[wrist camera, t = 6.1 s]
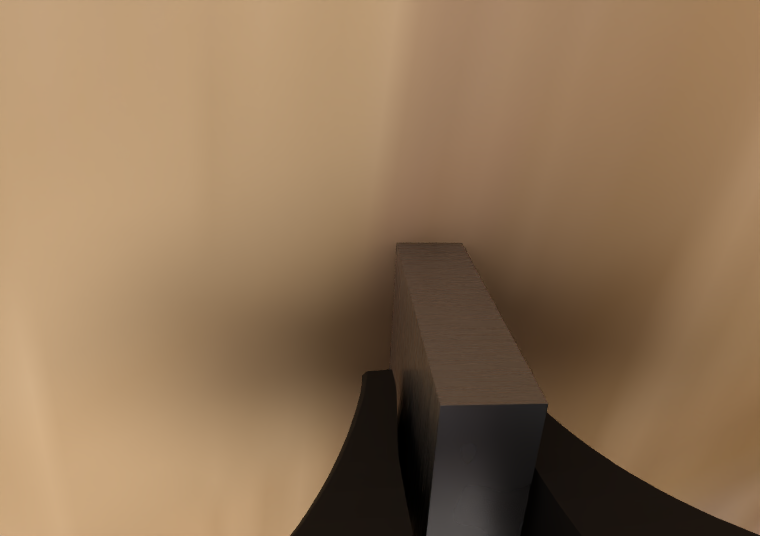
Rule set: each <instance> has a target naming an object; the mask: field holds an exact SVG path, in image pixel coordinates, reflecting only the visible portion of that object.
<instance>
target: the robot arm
mask: <svg viewBox="0 0 760 536" xmlns="http://www.w3.org/2000/svg"><path fill="white" fill-rule="evenodd" d="M290 536H413V532H412V527H411V522H410V518H409V512H408V507H407V502H406V496H405V491H404V486H403V480H402V474H401V469H400V463H399V439H398V415H397V392H396V383H395V379H394V375H393V371H392V369H391V370H379V371H367V372H366V373H365V374H364V375H363V376H362V387H361V393H360V397H359V401H358V405H357V409H356V412H355V415H354V418H353V421H352V424H351V427H350V430H349V432H348V435H347V437H346V439H345V442H344V444H343V446H342V449H341V451H340V453H339V456H338V458H337V460H336V462H335V464H334V466H333V468H332V470H331V472H330V474H329V476H328V478H327V480H326V481H325V483H324V485H323V487H322V489H321V490H320V492H319V494H318V495H317V497H316V499H315V500H314V502H313V503H312V505H311V507H310V508H309V510H308V511H307V513H306V514H305V516H304V517H303V519H302V520H301V522H300V523H299V525H298V526H297V527H296V529H295V530H294V531H293V533H292V534H291V535H290ZM520 536H760V535H758V534H755V533H753V532H750V531H748V530H745V529H743V528H740V527H738V526H736V525H733V524H731V523H728V522H726V521H723V520H721V519H718V518H716V517H714V516H711V515H709V514H707V513H705V512H703V511H701V510H699V509H697V508H695V507H692V506H690V505H688V504H686V503H684V502H682V501H680V500H678V499H676V498H674V497H672V496H670V495H668V494H666V493H664V492H662V491H661V490H659V489H657V488H655V487H653V486H652V485H650V484H648V483H646V482H645V481H643V480H641V479H639V478H638V477H636V476H634V475H632V474H631V473H629V472H627V471H626V470H624V469H622V468H621V467H619V466H618V465H616V464H614V463H613V462H612V461H610V460H609V459H607V458H606V457H604V456H603V455H601V454H600V453H598V452H597V451H595V450H594V449H592V448H591V447H589V446H588V445H587V444H585V443H584V442H583V441H581V440H580V439H579V438H577V437H576V436H575V435H573V434H572V433H571V432H570V431H568V430H567V429H566V428H565V427H563V426H562V425H561V424H560V423H559V422H557V421H556V420H555V419H554V418H553V417H552V416H550V415H549V414H548V413H547V412H546V417H545V421H544V426H543V431H542V436H541V440H540V445H539V450H538V455H537V459H536V464H535V469H534V473H533V478H532V483H531V488H530V492H529V497H528V502H527V506H526V511H525V516H524V521H523V525H522V530H521V535H520Z"/></svg>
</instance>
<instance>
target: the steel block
mask: <svg viewBox="0 0 760 536" xmlns="http://www.w3.org/2000/svg"><path fill="white" fill-rule="evenodd" d="M391 369H392V371H393V375H394V379H395V383H396V392H397V415H398V439H399V463H400V469H401V474H402V480H403V486H404V491H405V496H406V502H407V507H408V512H409V518H410V522H411V527H412V532H413V536H520V535H521V530H522V525H523V521H524V516H525V511H526V506H527V502H528V497H529V492H530V488H531V483H532V478H533V473H534V469H535V464H536V459H537V455H538V450H539V445H540V440H541V436H542V431H543V426H544V421H545V417H546V412H547V407H548V402H547V400H546V398H545V396H544V395H543V393H542V391H541V389H540V387H539V385H538V383H537V382H536V380H535V378H534V376H533V374H532V372H531V370H530V369H529V367H528V365H527V363H526V361H525V359H524V357H523V356H522V354H521V352H520V350H519V348H518V346H517V344H516V343H515V341H514V339H513V337H512V335H511V333H510V331H509V330H508V328H507V326H506V324H505V322H504V320H503V318H502V317H501V315H500V313H499V311H498V309H497V307H496V305H495V304H494V302H493V300H492V298H491V296H490V294H489V292H488V291H487V289H486V287H485V285H484V283H483V281H482V280H481V278H480V276H479V274H478V272H477V270H476V268H475V267H474V265H473V263H472V261H471V259H470V257H469V255H468V254H467V252H466V250H465V248H464V246H463V244H462V243H397V247H396V264H395V281H394V299H393V316H392V334H391V351H390V369H389V370H391Z"/></svg>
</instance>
